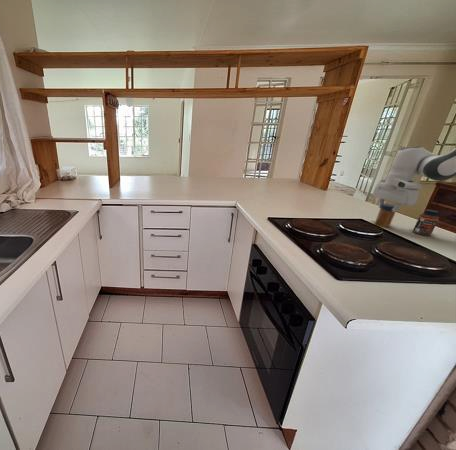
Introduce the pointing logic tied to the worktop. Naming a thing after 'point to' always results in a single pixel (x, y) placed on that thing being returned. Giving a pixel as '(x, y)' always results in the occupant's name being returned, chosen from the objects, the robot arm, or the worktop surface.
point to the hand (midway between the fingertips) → (387, 209)
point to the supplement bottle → (426, 223)
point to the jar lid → (386, 206)
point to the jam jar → (384, 218)
